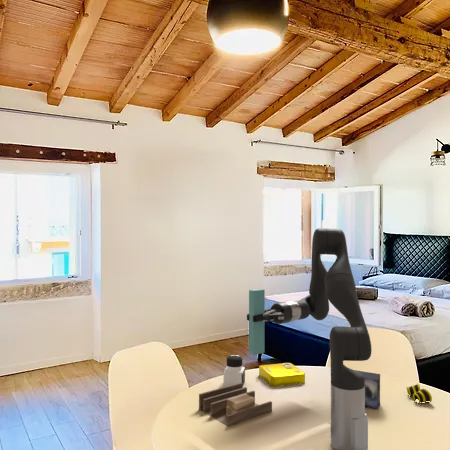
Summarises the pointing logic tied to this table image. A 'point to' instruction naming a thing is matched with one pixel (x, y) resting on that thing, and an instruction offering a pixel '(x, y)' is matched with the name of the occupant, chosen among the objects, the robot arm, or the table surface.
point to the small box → (371, 390)
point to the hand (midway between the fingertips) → (250, 318)
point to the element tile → (281, 374)
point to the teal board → (256, 327)
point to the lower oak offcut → (230, 411)
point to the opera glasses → (419, 393)
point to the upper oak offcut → (240, 402)
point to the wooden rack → (217, 404)
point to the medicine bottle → (234, 371)
